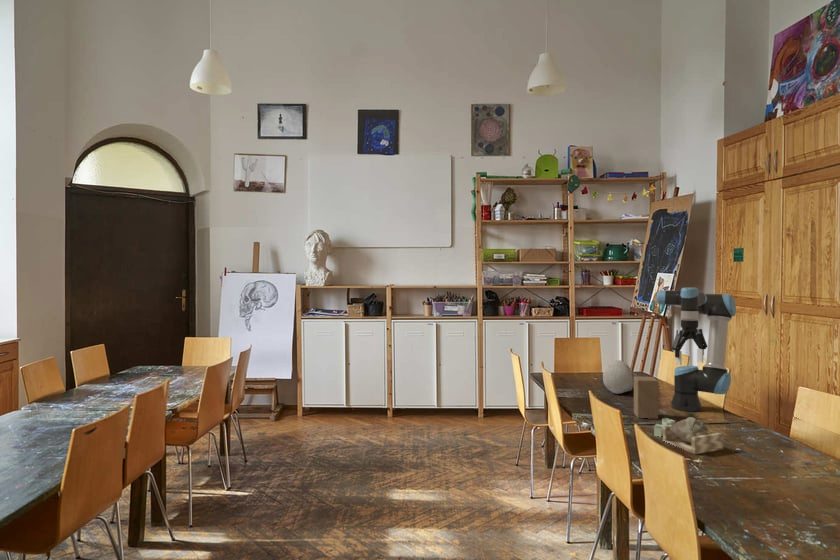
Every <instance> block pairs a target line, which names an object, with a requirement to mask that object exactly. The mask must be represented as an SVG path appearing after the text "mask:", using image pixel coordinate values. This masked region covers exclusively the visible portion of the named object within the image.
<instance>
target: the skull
mask: <svg viewBox="0 0 840 560" xmlns="http://www.w3.org/2000/svg"><path fill="white" fill-rule="evenodd" d="M602 380H603V381H602V382H603V385H604V386H605V387H606V388H607V390H609V391H610V392H611V393H612V394H616V395H618V394H623V393H626V392H631V391H632V389H633V387H634V376H633V372H632V369H631V367H630V366H629V365H628V363H626V362H624V361H623V360H619V359H617V360H613V361H611V362H610V363H609V364H608V365H607V366H606V368H604V370H603V373H602Z"/></svg>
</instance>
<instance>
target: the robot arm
mask: <svg viewBox="0 0 840 560" xmlns="http://www.w3.org/2000/svg"><path fill="white" fill-rule="evenodd" d="M655 298H656V302H657V304H658V305H663V306H665V305H666V306H673V307H677V308H680V319H681V320H680V328H681V330H680V329H677V330H676V335H675V338H674V340H673V342H672V345H671V347H670V348H671V349H670V350H673V351H674V358H675V365H679V366H677V367H675V368H674V376H673V377H674V379H673V381H674V384H673V385H674V392H673V396H672V400H671V402H670V407H671V408H672V409H673V410H674V409H675V410H677V411H683V412H692V413H693V412H701V411H702V409H703V406H702V404H701V401H700V398H699V392H701V393H708V394H714V395H725V394H727V393H728V391H729V389H730V386H731V381H732V379H731V378H732V376H731V373H729V372H728V369H727V367H726V366H725V365H726V363H725V362H726V354H727V339H728V338H727V337H728V326H729V322H731V321H732V320H733V319H732V317H735V316H736V315H737V304H736V300H735V298H734V296H733V295H731V294H725V293H705V292H704V291H702V290H699V288H698V287H682V288H681V289H680V290H671V289H670V290H665V289H663V290H662V289H661V290H659V291H657V292H656V297H655ZM699 315H705V316H706V317H707V319H708V320H709V326H708V328H709V329H708V339H707V342H706V339H705V336H704V334H703V329H702V328H699ZM691 339H692V340H693V342H694V343H695V344H696V346H697V347H698V348H697V350H696V352H697V353H696V356H697V357H696V361H697V363H701V364H703V363H704V355H705V354H704V353H705V350H706V349H707V352H706V361H705V362H706V363H705V364H704V365H703V366H702V369H699V367H698V366H696V365H682V360H683V359H682V355H683V354H682V348H683V346H684V345H685V343H686V341H688V340H691Z"/></svg>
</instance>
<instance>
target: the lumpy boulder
mask: <svg viewBox="0 0 840 560" xmlns="http://www.w3.org/2000/svg"><path fill="white" fill-rule="evenodd" d="M670 430H671V432H672V433H673V434H675V435H676V436H678V437H679V438H680V439H682V440H684V441H687V442H690V443H692V437H694V436H701V435H707V434H709V433H708V427H707V426H706V425H705V422H704V421H703V420H701V419H696V418H695V417H693V416H692V417H691V416H688V417H687V418H685V419H681V420H679V421H677V422H675V423H672V425H671V426H670Z"/></svg>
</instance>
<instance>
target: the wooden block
mask: <svg viewBox="0 0 840 560" xmlns="http://www.w3.org/2000/svg"><path fill="white" fill-rule="evenodd" d="M633 414H634V415H635V416H636V418H637V419H643V418H648V419H647V420H658V419H659V380H657V378H656V377H654V376H639V375H638V376H637V375H636V376H633Z"/></svg>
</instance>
